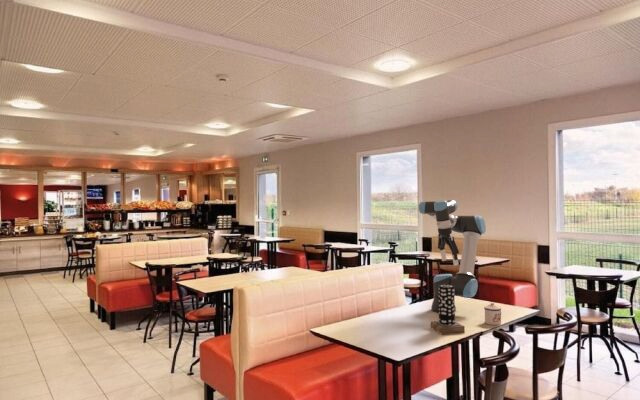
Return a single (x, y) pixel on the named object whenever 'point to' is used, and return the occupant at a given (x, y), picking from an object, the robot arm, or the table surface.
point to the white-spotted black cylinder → (446, 304)
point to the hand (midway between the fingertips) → (450, 262)
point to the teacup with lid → (492, 314)
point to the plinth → (447, 328)
